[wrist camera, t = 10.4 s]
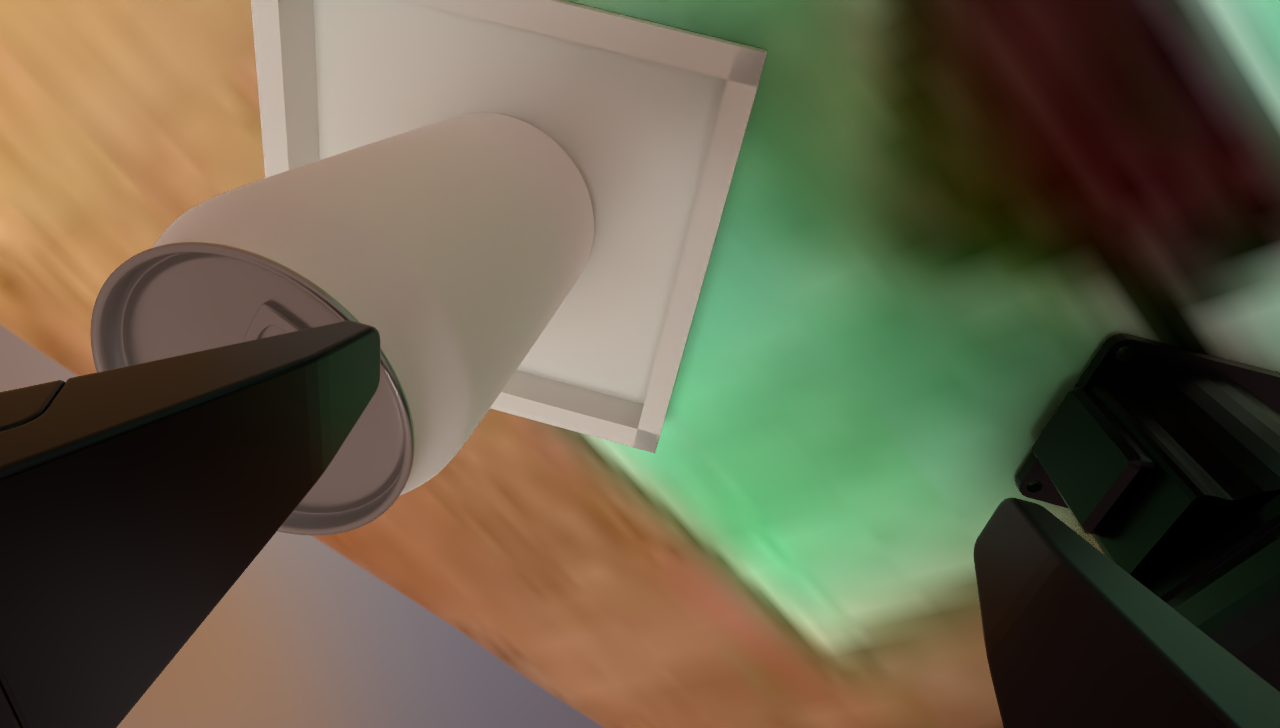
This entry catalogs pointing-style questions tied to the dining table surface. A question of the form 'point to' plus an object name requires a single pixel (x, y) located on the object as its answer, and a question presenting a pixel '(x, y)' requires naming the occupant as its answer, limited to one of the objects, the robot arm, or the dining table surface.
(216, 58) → the dining table surface
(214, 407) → the robot arm
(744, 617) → the dining table surface
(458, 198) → the can
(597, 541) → the dining table surface
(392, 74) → the tray
